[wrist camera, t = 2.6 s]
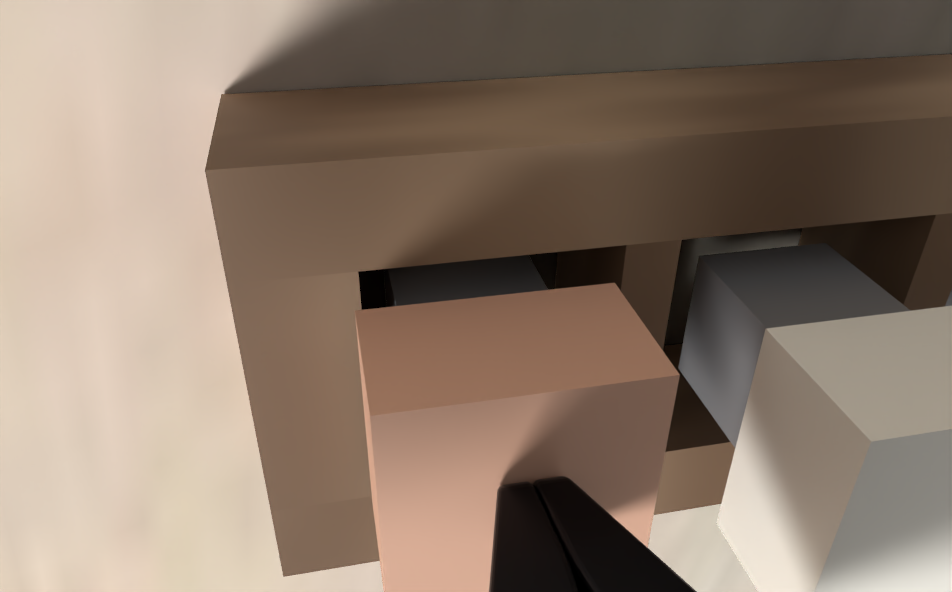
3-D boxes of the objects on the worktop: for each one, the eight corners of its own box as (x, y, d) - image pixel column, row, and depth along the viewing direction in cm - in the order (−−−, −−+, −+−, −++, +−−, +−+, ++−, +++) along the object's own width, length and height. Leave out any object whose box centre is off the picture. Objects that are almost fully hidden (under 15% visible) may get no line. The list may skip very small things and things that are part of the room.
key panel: (1143, 43, 14) (1317, 89, 12) (999, 355, 18) (1108, 439, 15) (221, 94, 11) (205, 170, 9) (283, 456, 15) (283, 577, 12)
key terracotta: (553, 194, 12) (679, 375, 8) (541, 362, 14) (642, 575, 10) (340, 212, 12) (370, 415, 8) (357, 386, 14) (387, 622, 10)
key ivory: (868, 206, 12) (1154, 397, 8) (816, 375, 14) (1029, 600, 10) (668, 224, 12) (871, 440, 8) (641, 400, 13) (793, 648, 9)
